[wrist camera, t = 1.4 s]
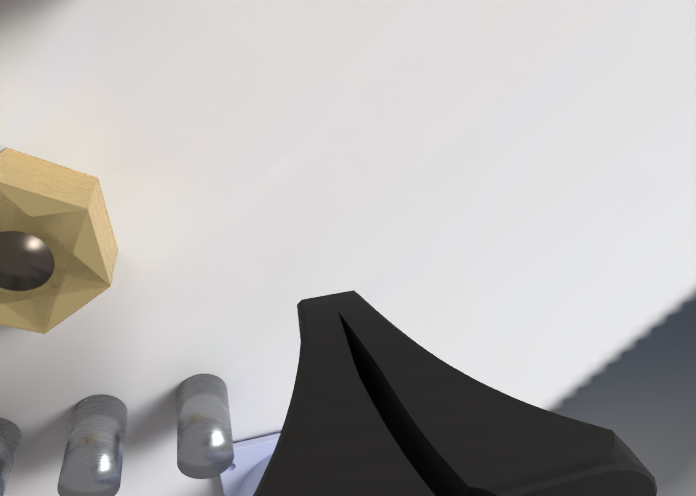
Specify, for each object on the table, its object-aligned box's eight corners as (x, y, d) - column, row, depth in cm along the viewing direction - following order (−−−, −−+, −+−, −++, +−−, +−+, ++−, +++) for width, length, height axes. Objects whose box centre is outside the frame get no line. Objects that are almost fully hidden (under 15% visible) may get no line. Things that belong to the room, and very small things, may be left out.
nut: (148, 227, 20) (144, 261, 18) (28, 313, 20) (11, 357, 18) (40, 122, 17) (22, 148, 15) (-93, 223, 18) (-129, 262, 16)
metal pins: (230, 405, 24) (237, 471, 21) (-28, 460, 22) (-59, 541, 19) (125, -127, 15) (112, -140, 12) (-337, -114, 13) (-490, -126, 10)
